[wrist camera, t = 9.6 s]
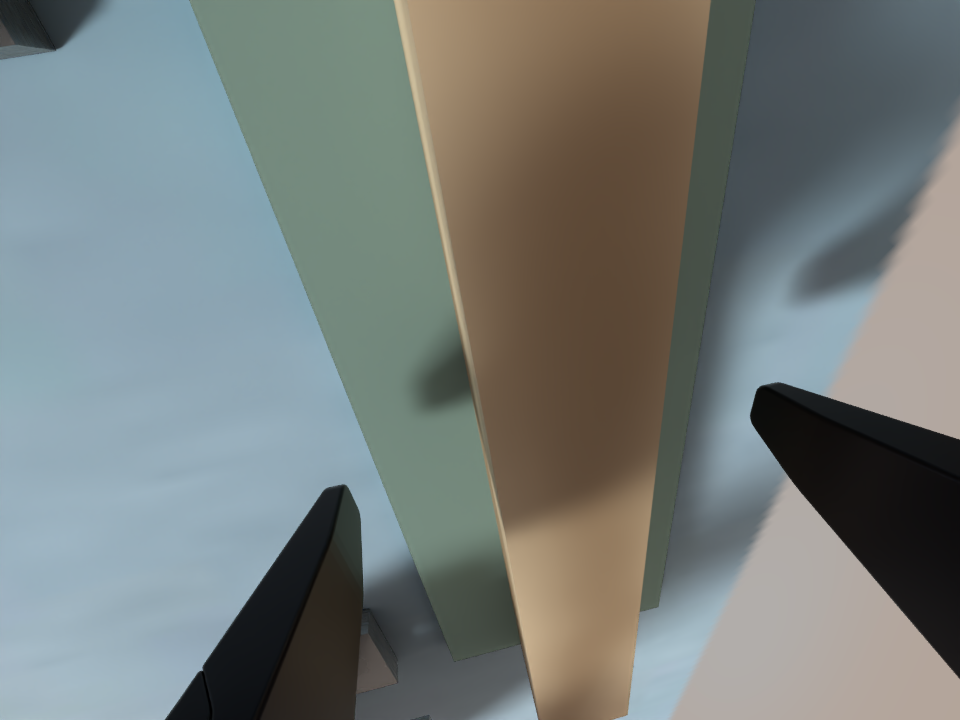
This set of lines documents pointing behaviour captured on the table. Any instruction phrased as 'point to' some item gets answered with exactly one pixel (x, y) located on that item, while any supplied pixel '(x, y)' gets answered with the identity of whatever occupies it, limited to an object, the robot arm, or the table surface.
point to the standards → (18, 32)
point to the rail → (564, 293)
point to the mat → (430, 272)
